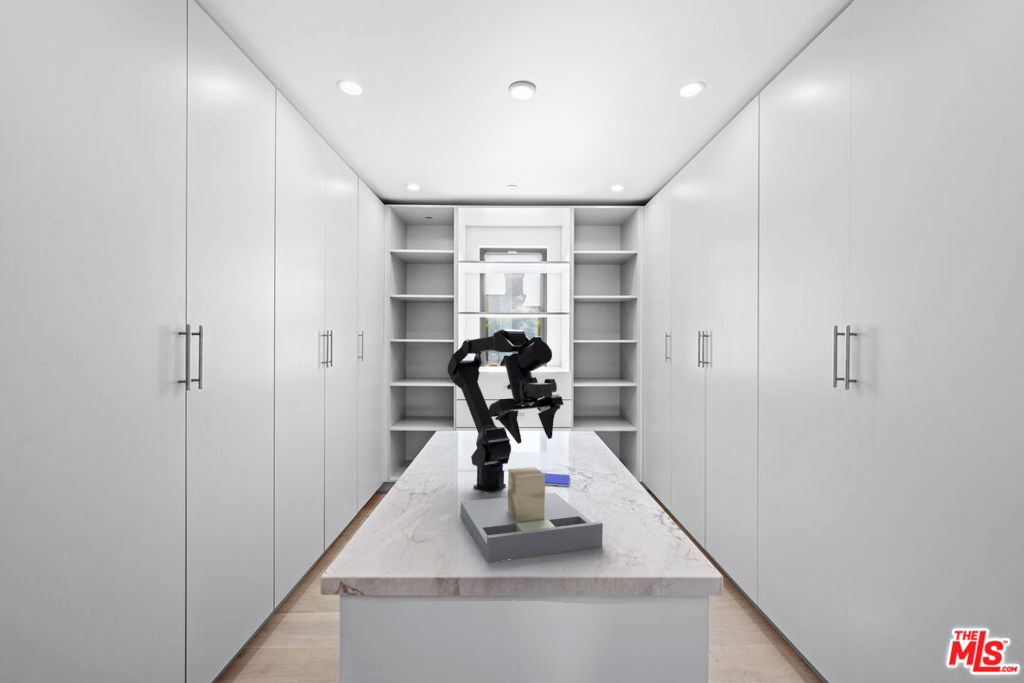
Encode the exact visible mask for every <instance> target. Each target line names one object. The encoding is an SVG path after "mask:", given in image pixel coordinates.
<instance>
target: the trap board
mask: <svg viewBox="0 0 1024 683" xmlns="http://www.w3.org/2000/svg"><path fill="white" fill-rule="evenodd" d="M461 516H462V517H461ZM460 517H461V518H462V520H463V522H464V521H465V522H464V523H466V524H465V525H466V528H467V529H468V528H469V529H468V531H469V530H470V531H469V532H470V534H471V533H472V534H471V536H472V535H473V536H472V537H473V539H474V541H475V540H476V541H475V543H476V542H477V543H476V545H477V546H478V548H479V549H481V550H480V551H481V553H482V555H483V554H484V555H483V557H484V556H485V557H484V558H485V560H486V562H487V561H488V562H487V563H488V564H489V563H490V562H491V563H497V562H496V561H498V562H503V561H502V560H505V561H509V560H508V559H512V560H519V559H525V558H532V557H539V556H546V555H553V554H554V555H555V554H558V553H559V554H561V553H566V552H567V551H568V552H574V551H581V550H586V549H587V550H588V549H595V548H601V547H603V533H604V532H603V531H604V530H603V529H604V526H603V525H604V524H603V522H602V521H593V522H592V521H591V520H590V519H588V518H587V517H586V516H584V514H582V513H581V512H580V511H578V510H577V509H576V508H575V507H573V506H572V505H571V504H570V503H568V502H567V501H566V500H565V499H563V498H562V497H561V496H560V495H558V493H556V492H545V506H544V518H543V519H534V520H526V521H516V520H515V519H514V518H513V516H512V515H511V514H510V513H509V512H508V496H505V497H496V498H494V497H493V498H484V499H473V500H463V501H460ZM560 552H561V553H560ZM568 552H567V553H568ZM518 558H519V559H518ZM491 563H490V564H491Z"/></svg>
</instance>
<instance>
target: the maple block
mask: <svg viewBox="0 0 1024 683" xmlns="http://www.w3.org/2000/svg"><path fill="white" fill-rule="evenodd" d="M507 470H508V474H507V477H508V478H507V497H508V512H509V513H510V514H511V515H512V516H513V518H514V519H515V520H516V521H526V520H534V519H543V518H544V506H545V493H546V485H545V474H543V473H544V472H542V471H541V470H539V469H538V468H537V467H535V466H531V467H530V466H528V467H515V468H508V469H507Z"/></svg>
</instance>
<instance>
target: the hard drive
mask: <svg viewBox="0 0 1024 683" xmlns="http://www.w3.org/2000/svg"><path fill="white" fill-rule="evenodd" d="M542 473H543V474H545V486H549V485H559V486H558V487H563V486H568V487H569V485H570V478H571V477H570V476H571V475H570V474H561V473H548V472H546V473H545V472H542Z"/></svg>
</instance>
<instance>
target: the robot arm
mask: <svg viewBox="0 0 1024 683" xmlns="http://www.w3.org/2000/svg"><path fill="white" fill-rule="evenodd" d="M488 352H498V353H512V354H509V355H503V358H502V359H501V361H500V363H499V365H500V367H505V369H506V373H507V377H508V382H509V383H508V385H506V388H507V390H510V391H511V396H512V398H510V397H509V398H500V399H498V400H496V401H494V402H493V403H491V404H490V405H489V407H488V404H487V403H486V400H485V397H484V395H483V392H482V389H481V387H480V385H479V382H478V381H479V377H480V370H479V369H480V368H481V365H482V363H483V361H482V353H488ZM470 354H473V355H474V357H473V358H467V357H468V355H470ZM552 359H553V350H552V349H551V348H550V346H549V345H548V344H547V342H545V341H543V339H542V336H533V337H531V338H530V337H528V336H527V335H526V333H525V330H522V329H500V330H497V331H496V332H494V333H493V335H491V336H486V337H479V338H473V339H470V338H469V339H465V340H464V341H463V342H462V345H461V347H460V348H458V349H457V350H456V351H455V352H454V353H453V354H452V355H451V357H450V360H449V362H448V364H447V374H448V375H449V377H450V379H451V381H452V383H453V384H454V385H456V386H457V387H458V388H459V389H460V390H461V392H462V394H463V396H464V399H465V402H466V405H467V408H468V411H469V412H470V415H471V417H472V420H473V422H474V425H475V428H476V431H477V437H476V442H475V444H476V445H475V446H476V449H475V451H474V452H473V453H472V454H471V458H470V459H471V463H472V465H473V466H475V467H476V484H474V485H472V486H473V489H477V490H481V491H485V492H491V493H494V492H496V491H498V490H500V489H503V488H505V487H506V486H507V484H506V483H505V470H504V465H507V464H509V460H510V455H511V452H512V446H511V443H510V442H511V438H509V436H508V434H507V431H508V433H509V434H510V435H511V437H512V438H513V440H515V442H516V443H517V444H521V443H522V436H521V431H520V427H519V423H518V422H519V421H518V416H519V410H520V411H522V410H532V409H537V410H538V411H539V412H538V413H537V416H538V417H539V421H540V422H541V426H542V428H543V430H544V433H545V436H546V438H547V439H548V440H550V439H552V438H553V431H554V430H553V429H554V421H555V416H556V413H557V411H558V410H560V409H561V407H562V406H563V405H564V401H563V397H562V396H561V395H560V394H553V393H556V392H558V391H557V390H558V386H557V383H556V382H557V381H556V379H555V378H545V379H544V382H538V379H537V377H534V376H533V374H532V372H533V371H535V370H537V369H539V368H541V367H542V366H544V365H546V364H548V363H549V362H551V360H552ZM493 417H494V419H495V421H499V422H500V424H501V425H502V426H503V427H498V426H496V425H495V422H494V420H493ZM506 430H507V431H506Z"/></svg>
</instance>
